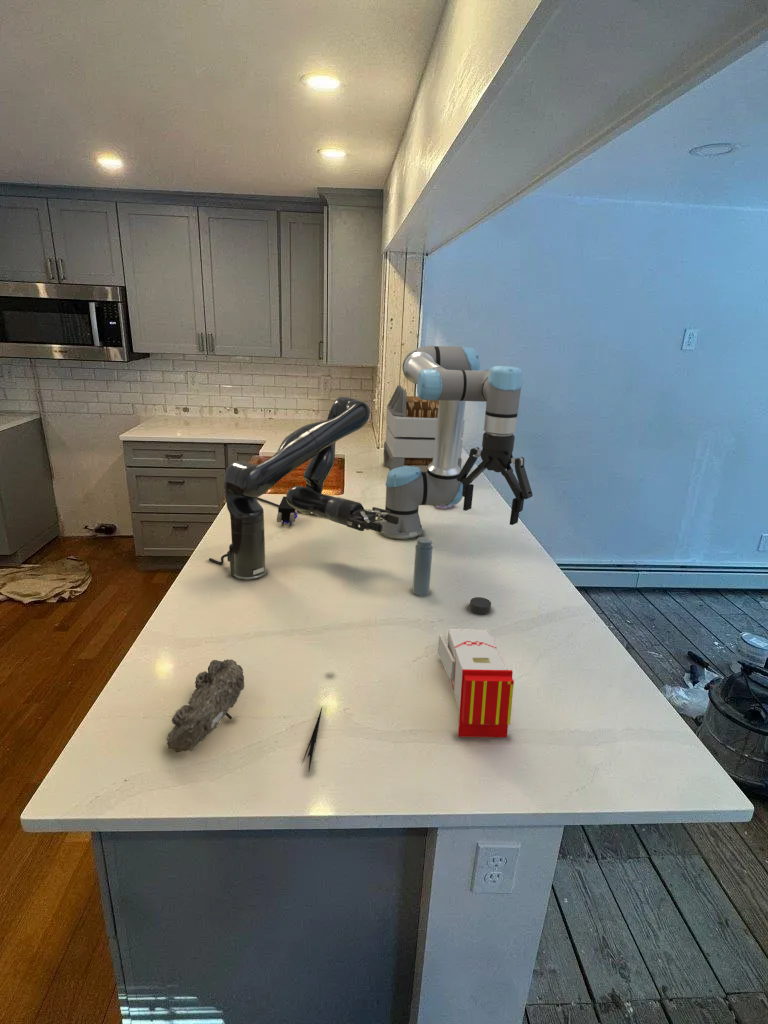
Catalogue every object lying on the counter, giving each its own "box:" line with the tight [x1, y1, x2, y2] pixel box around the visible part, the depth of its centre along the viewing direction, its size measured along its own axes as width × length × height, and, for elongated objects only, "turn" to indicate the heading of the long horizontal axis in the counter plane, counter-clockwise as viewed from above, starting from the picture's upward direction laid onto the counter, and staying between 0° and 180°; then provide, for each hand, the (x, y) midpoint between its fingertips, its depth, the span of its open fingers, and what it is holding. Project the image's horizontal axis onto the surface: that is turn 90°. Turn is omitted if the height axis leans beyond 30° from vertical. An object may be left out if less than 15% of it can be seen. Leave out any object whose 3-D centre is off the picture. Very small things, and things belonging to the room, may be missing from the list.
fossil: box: [166, 658, 245, 754], centre depth 106 cm, size 22×10×15 cm
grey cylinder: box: [412, 536, 434, 597], centre depth 157 cm, size 5×5×16 cm
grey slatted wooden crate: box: [383, 384, 465, 471], centre depth 268 cm, size 34×33×41 cm
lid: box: [469, 596, 492, 616], centre depth 151 cm, size 6×6×2 cm
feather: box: [301, 673, 332, 771], centre depth 108 cm, size 2×28×2 cm
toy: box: [437, 628, 515, 738], centre depth 117 cm, size 12×13×30 cm
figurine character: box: [276, 495, 299, 527], centre depth 205 cm, size 7×8×15 cm
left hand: (390, 524), depth 159 cm, fingers open, 8 cm apart
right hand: (489, 516), depth 143 cm, fingers open, 13 cm apart
